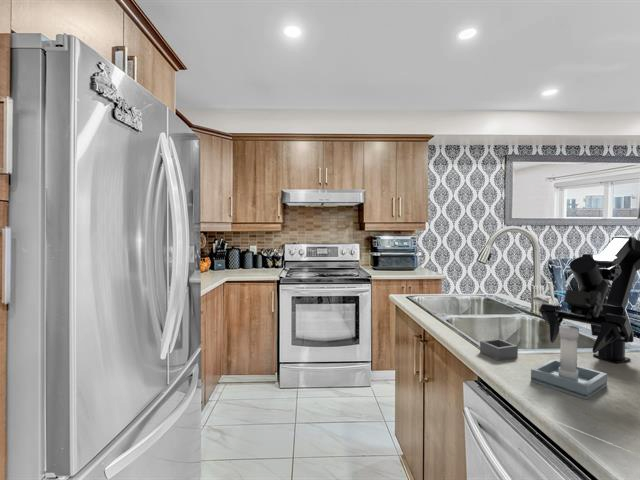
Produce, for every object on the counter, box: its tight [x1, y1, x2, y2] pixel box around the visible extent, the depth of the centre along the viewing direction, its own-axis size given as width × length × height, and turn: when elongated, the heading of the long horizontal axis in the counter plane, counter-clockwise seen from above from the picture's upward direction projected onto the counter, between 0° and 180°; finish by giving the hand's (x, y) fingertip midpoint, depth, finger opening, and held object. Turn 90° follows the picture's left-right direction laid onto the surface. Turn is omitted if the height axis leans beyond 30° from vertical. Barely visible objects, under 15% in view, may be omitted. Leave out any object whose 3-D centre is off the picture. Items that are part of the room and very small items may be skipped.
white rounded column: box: [558, 324, 580, 382], centre depth 89 cm, size 4×4×13 cm
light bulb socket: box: [479, 338, 519, 361], centre depth 109 cm, size 7×7×4 cm
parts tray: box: [530, 358, 608, 400], centre depth 89 cm, size 12×12×3 cm
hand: (571, 346), depth 90 cm, fingers open, 9 cm apart
